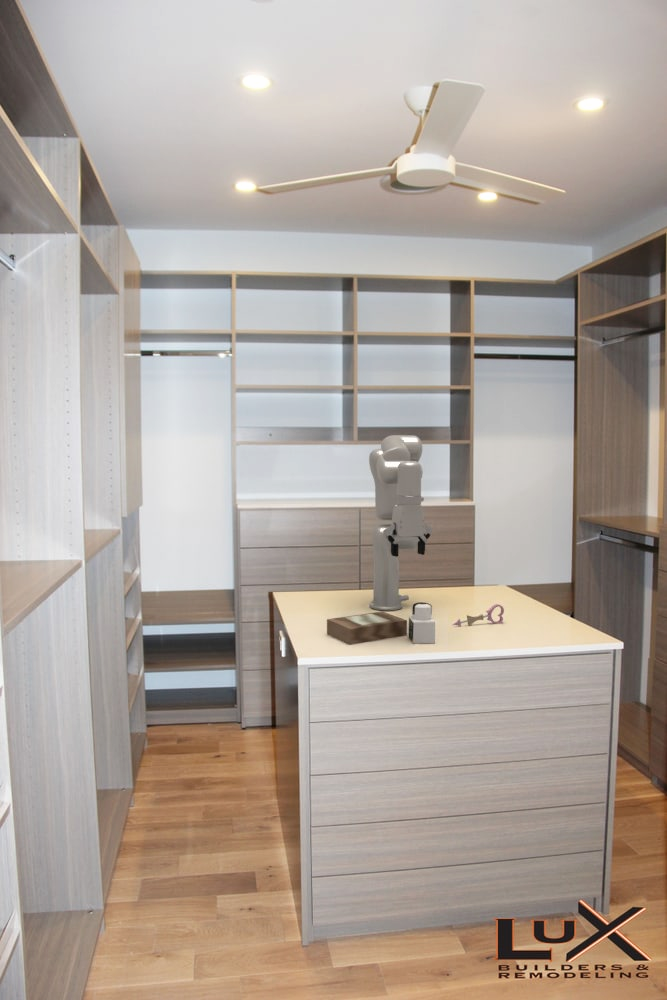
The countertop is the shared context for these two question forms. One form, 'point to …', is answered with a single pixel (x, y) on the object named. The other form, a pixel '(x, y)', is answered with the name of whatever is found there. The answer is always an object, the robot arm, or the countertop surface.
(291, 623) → the countertop surface
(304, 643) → the countertop surface
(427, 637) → the medicine bottle
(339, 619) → the shelf riser
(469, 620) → the decorative key
